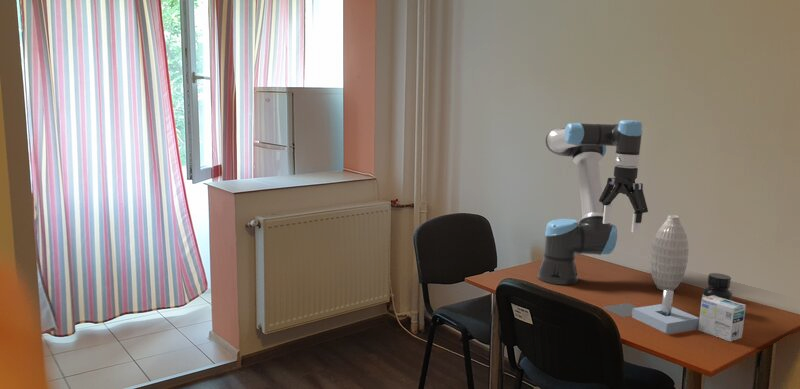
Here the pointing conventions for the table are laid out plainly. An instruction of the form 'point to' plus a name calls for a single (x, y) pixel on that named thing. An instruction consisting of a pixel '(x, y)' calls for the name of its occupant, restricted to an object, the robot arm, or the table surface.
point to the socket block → (666, 319)
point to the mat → (621, 309)
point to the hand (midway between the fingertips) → (620, 227)
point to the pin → (667, 302)
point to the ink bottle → (718, 286)
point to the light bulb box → (721, 318)
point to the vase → (669, 254)
